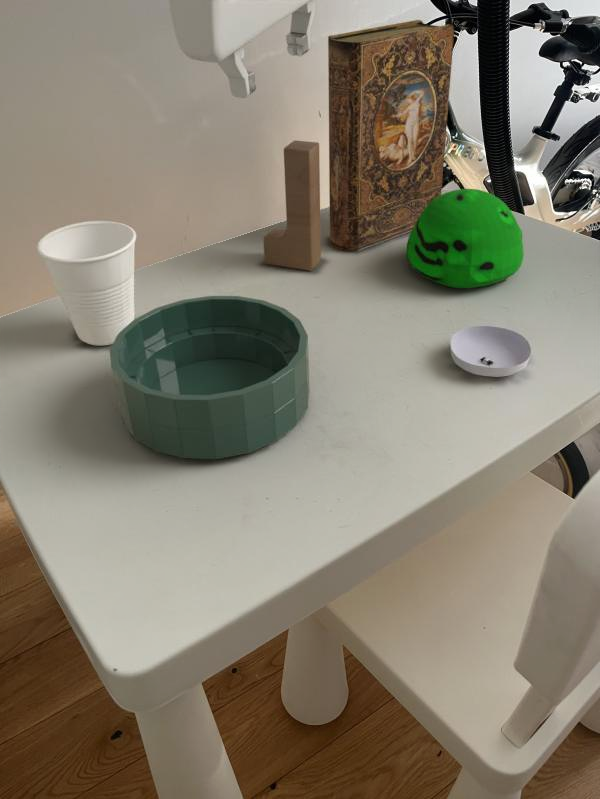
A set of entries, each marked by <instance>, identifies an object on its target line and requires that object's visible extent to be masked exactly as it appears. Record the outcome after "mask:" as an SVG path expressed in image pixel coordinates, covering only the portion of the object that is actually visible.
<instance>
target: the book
mask: <svg viewBox="0 0 600 799" xmlns="http://www.w3.org/2000/svg"><path fill="white" fill-rule="evenodd" d="M454 36H455V29H454V25H452V24H444V25H433V24H429V23H428V24H427V23H425V22H424V21H423V20H421V19H415V20H408V21H404V22H397V23H393V24H387V25H381V26H376V27H375V26H374V27H371V28H365V29H360V30H354V31H349V32H343V33H337V34H332V35H328V37H327V52H328V53H327V54H328V56H327V57H328V58H327V61H328V65H327V66H328V67H327V68H328V69H327V70H328V175H329V176H328V177H329V178H328V181H329V185H328V187H329V188H328V190H329V192H328V194H329V197H328V198H329V243H330V245H332V246H333V247H334V248H337V249H338V250H340V251H345V252H350V253H352V252H354V253H357V252H359V251H362V250H364V249H367V248H368V249H369V248H370V247H373V246H376V245H378V244H381V243H384V242H386V241H389V240H391V239H394V238H397V237H400V236H402V235H405V234H408V233H411V232H412V230H413V228H414V226H415V224H416V222H417V220H418V218H419V216H420V215H421V213H422V212H423V211H424V209H425V208H426V207H427V206H428V204H429V203H430V202H431V201H432V200H433V199H435V198H436V197H438V196H440V195H442V189H443V188H442V187H443V174H444V164H445V163H444V162H445V150H446V140H447V128H448V127H447V126H448V115H449V114H448V113H449V102H450V90H451V89H450V88H451V78H452V77H451V75H452V65H453V64H452V63H453V52H454Z"/></svg>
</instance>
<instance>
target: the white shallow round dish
mask: <svg viewBox="0 0 600 799" xmlns="http://www.w3.org/2000/svg"><path fill="white" fill-rule="evenodd" d="M449 345H450V346H449V347H450V355H451V358H452V361H453V362H454V363H455V364H456V365H457V366H458V367H460V368H461V369H462V370H464V371H466V372H468V373H470V374H473V375H476V376H482V377H493V378H494V377H495V378H498V377H501V378H502V377H503V378H504V377H508V376H513V375H515V374H518V373H519V372H521V371H523V369H525V368H526V366H527V365H528V364H529V361H530V357H531V352H532V349H531V344H530V343H529V341H528V339H526V338H525V337H524V336H523V335H522V334H520V333H518V332H516V331H514V330H511V329H508V328H504V327H498V326H489V325H479V326H478V325H477V326H469V327H465V328H463V329H460V330H458V331H456V332H455V333H454V334H453V335H452V337H451V339H450V344H449Z"/></svg>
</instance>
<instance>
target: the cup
mask: <svg viewBox="0 0 600 799" xmlns="http://www.w3.org/2000/svg"><path fill="white" fill-rule="evenodd" d="M136 240H137V232H136V230H134V229H133V227H131V226H129V225H128V224H124V223H123V222H122V223H121V222H117V221H109V220H89V221H82V222H76V223H71V224H68V225H65V226H61V227H59V228H56V229H54V230H52V231H50V232H48V233H46V234H45V235H44V236H42V237H41V238H40V239H39V241H38V242H37V244H36V251H37V253H38V255H39V256H41V258H42V259H43V262H44V264H45V266H46V269H47V271H48V273H49V275H50V277H51V279H52V282H53V284H54V286H55V288H56V290H57V293H58V295H59V297H60V300H61V302H62V304H63V306H64V308H65V310H66V313H67V315H68V317H69V319H70V322H71V324H72V326H73V329H74V331H75V333H76V336H77V338H78V339H79V340H80V341H82V342H84V343H86V344H88V345H91V346H97V347H98V346H99V347H100V346H101V347H102V346H112V344H113V343H114V341H115V339H116V337H117V335H118V333H119V332H120V331H122V330H123V329H124V328H125V327H126V326H127V325H128V324H130V323H131V322H132V321H133V320H135V243H136Z"/></svg>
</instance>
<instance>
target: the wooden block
mask: <svg viewBox="0 0 600 799" xmlns="http://www.w3.org/2000/svg"><path fill="white" fill-rule="evenodd" d="M283 167H284V168H283V169H284V186H285V187H284V190H285V212H286V213H285V215H286V228H280V227H273V228H271V229H270V230H269V231H268V232H267V233H266V234H265V235H264V236H263V238H262V240H263V252H264V253H263V256H264V257H263V258H264V264H265V265H270V266H277V267H284V268H291V269H297V270H303V271H308V272H312V271H313V270H315V268H316V267H317V266H318V265H319V264H320V262H321V260H322V248H321V247H322V246H321V244H322V242H321V240H322V239H321V237H322V236H321V177H320V173H321V172H320V167H321V166H320V143H319V142H317V141H307V140H306V141H304V140H295V139H294V140H293V141H291V142H290V143H289V144H287V145H286V146H285V147H284V148H283Z"/></svg>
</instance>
